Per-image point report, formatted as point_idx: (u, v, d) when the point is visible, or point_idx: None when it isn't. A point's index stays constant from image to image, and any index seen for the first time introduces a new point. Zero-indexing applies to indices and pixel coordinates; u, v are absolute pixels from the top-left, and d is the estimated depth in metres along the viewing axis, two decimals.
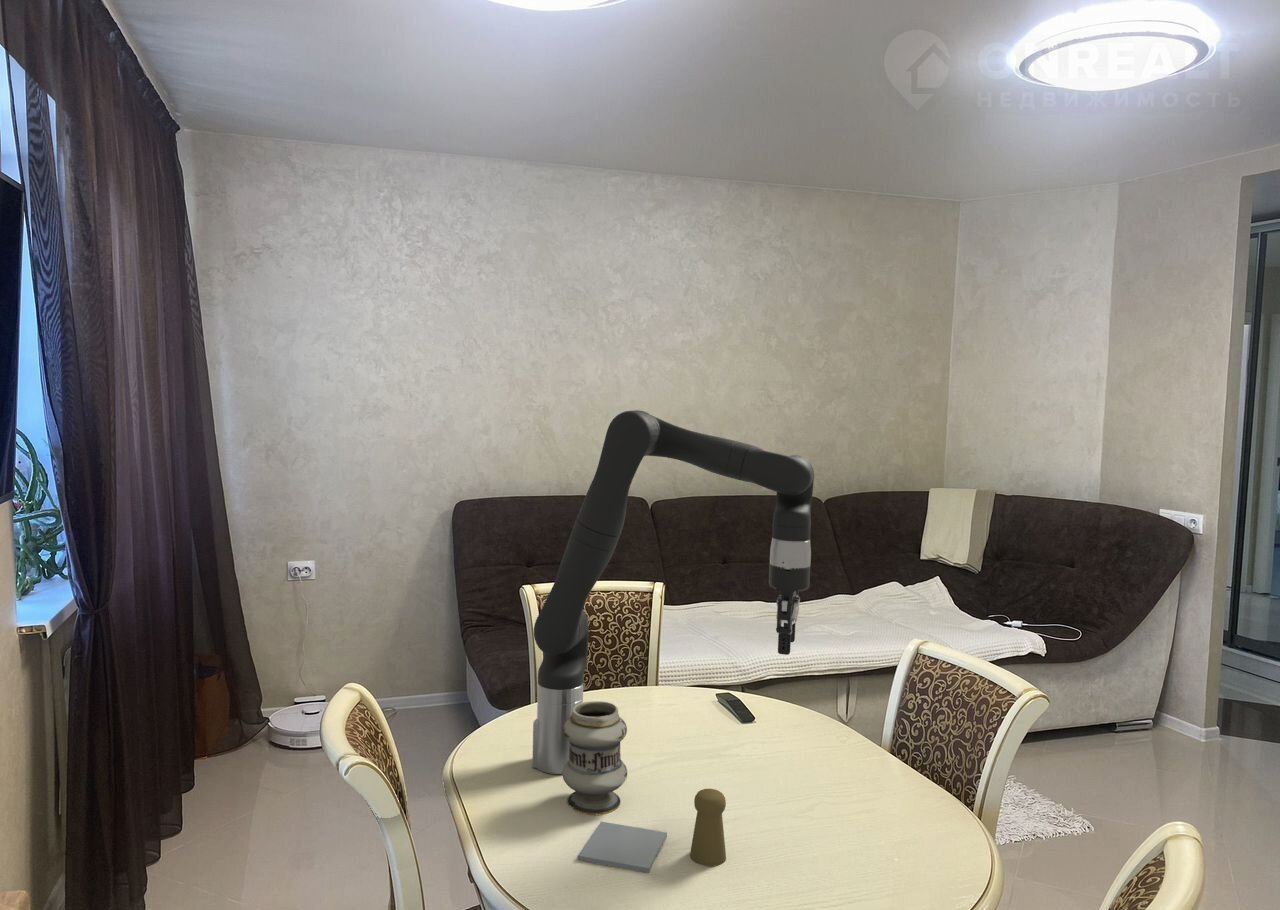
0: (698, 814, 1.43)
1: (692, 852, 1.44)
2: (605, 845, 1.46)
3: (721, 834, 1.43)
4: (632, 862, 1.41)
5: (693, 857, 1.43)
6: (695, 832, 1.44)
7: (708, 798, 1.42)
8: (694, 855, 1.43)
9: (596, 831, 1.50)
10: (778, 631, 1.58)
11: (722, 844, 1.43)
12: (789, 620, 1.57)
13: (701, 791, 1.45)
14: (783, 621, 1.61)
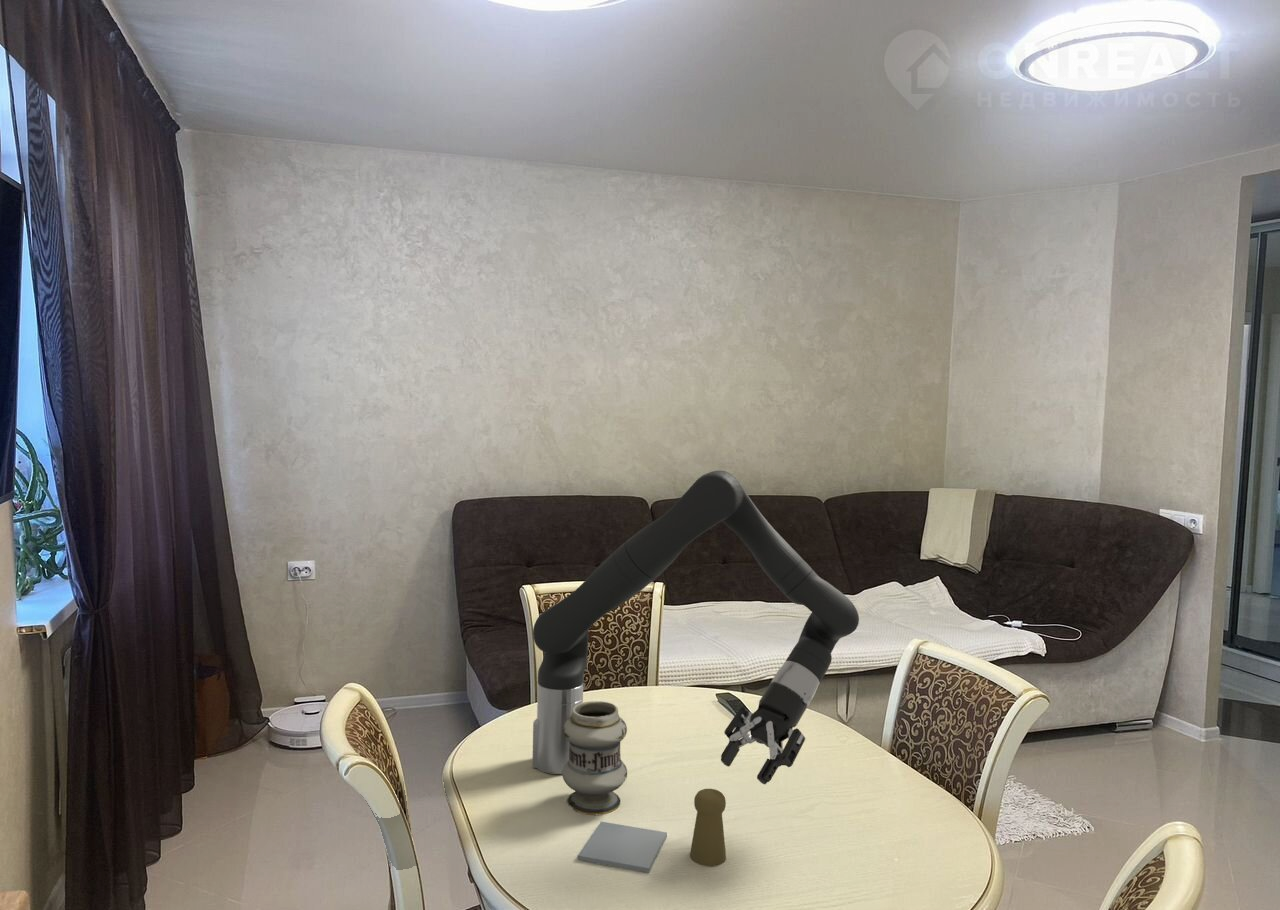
0: (698, 814, 1.43)
1: (692, 852, 1.44)
2: (605, 845, 1.46)
3: (721, 834, 1.43)
4: (632, 862, 1.41)
5: (693, 857, 1.43)
6: (695, 832, 1.44)
7: (708, 798, 1.42)
8: (694, 855, 1.43)
9: (596, 831, 1.50)
10: (785, 759, 1.45)
11: (722, 844, 1.43)
12: (797, 753, 1.47)
13: (701, 791, 1.45)
14: None
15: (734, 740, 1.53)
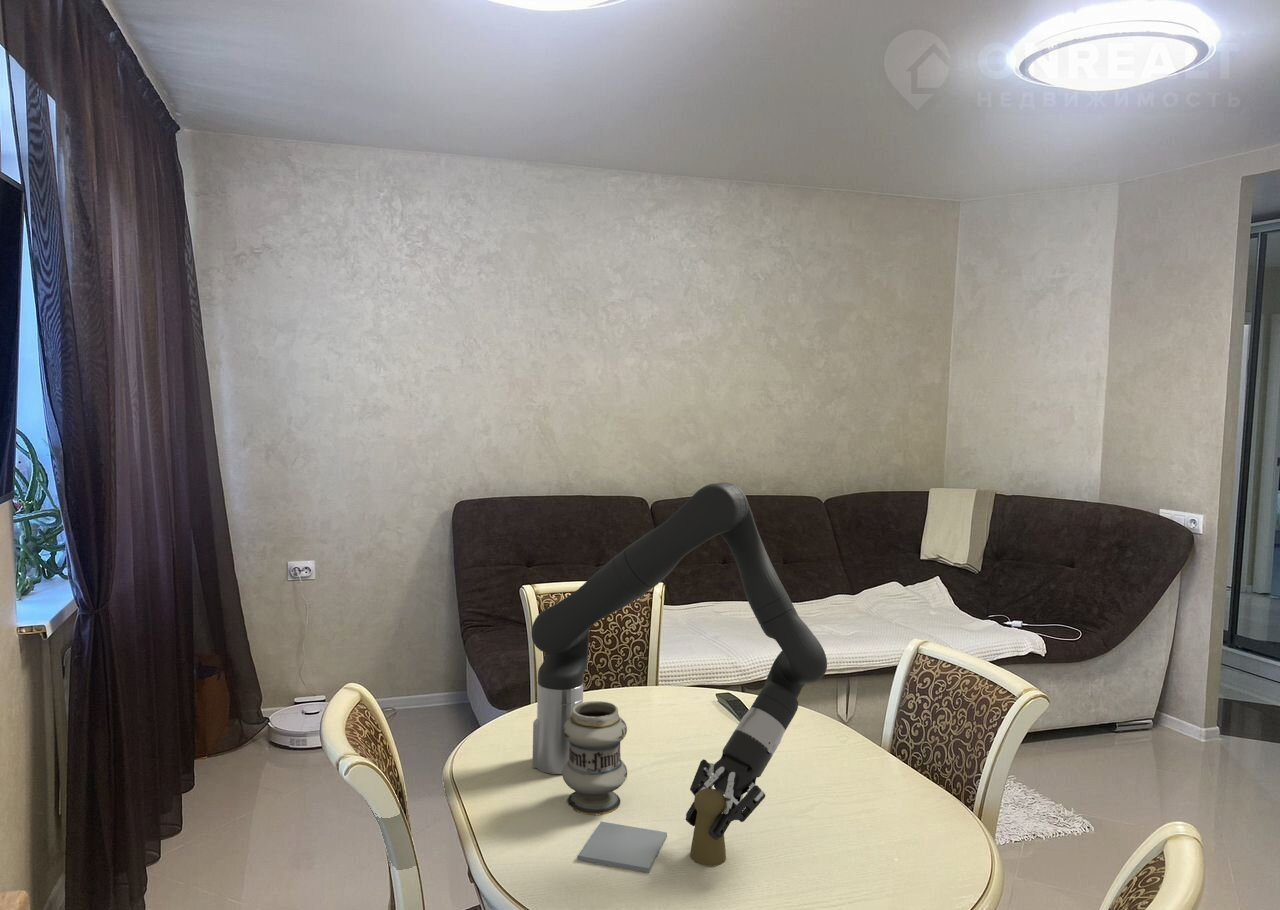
0: (698, 814, 1.43)
1: (692, 852, 1.44)
2: (605, 845, 1.46)
3: None
4: (632, 862, 1.41)
5: (693, 857, 1.43)
6: (695, 832, 1.44)
7: (708, 798, 1.42)
8: (694, 855, 1.43)
9: (596, 831, 1.50)
10: (738, 814, 1.40)
11: (722, 844, 1.43)
12: (752, 810, 1.42)
13: (701, 791, 1.45)
14: None
15: None
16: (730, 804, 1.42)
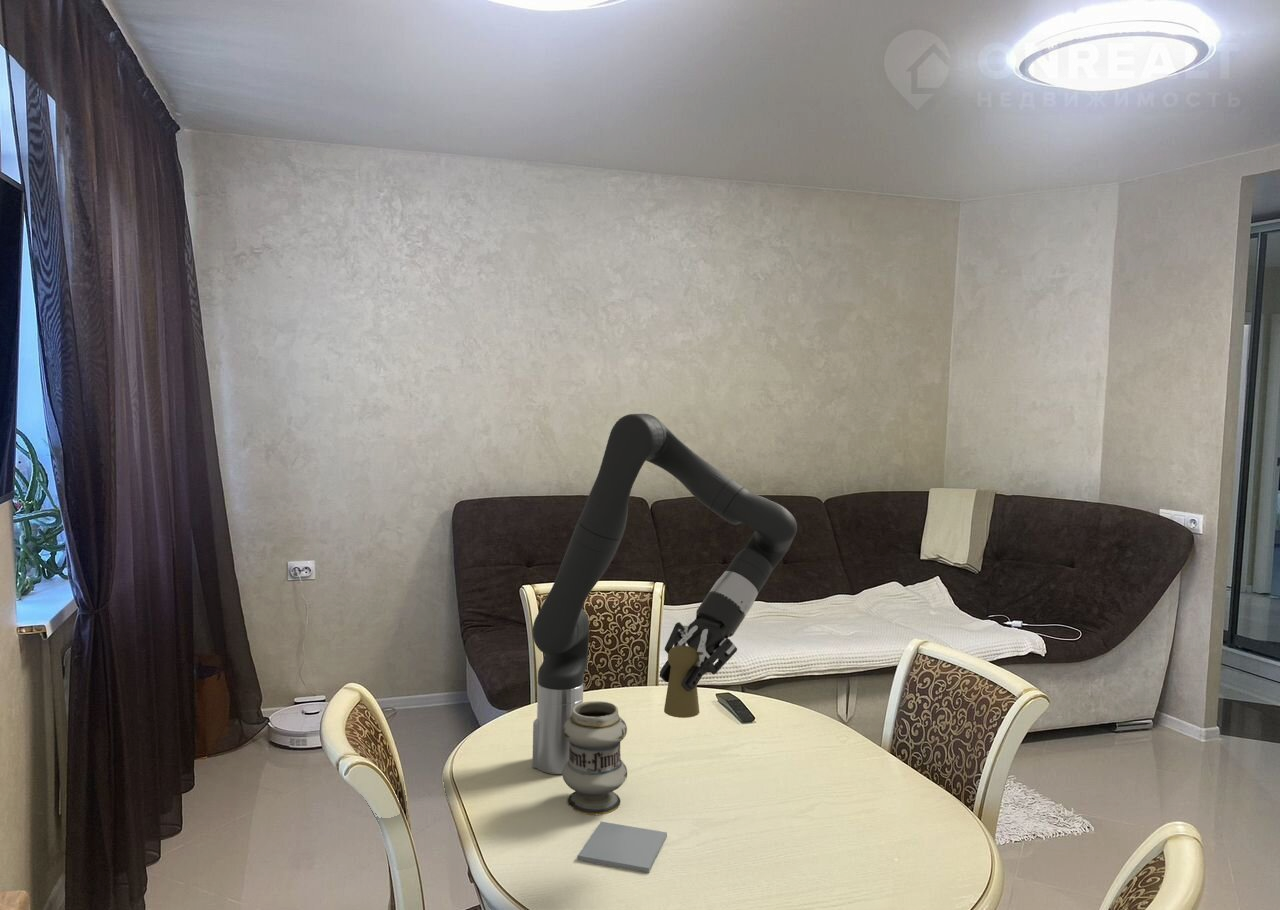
0: (671, 668, 1.46)
1: (666, 706, 1.47)
2: (605, 845, 1.46)
3: None
4: (632, 862, 1.41)
5: (667, 710, 1.46)
6: (669, 686, 1.47)
7: (680, 651, 1.45)
8: (668, 708, 1.46)
9: (596, 831, 1.50)
10: (709, 666, 1.43)
11: (695, 697, 1.46)
12: (724, 663, 1.45)
13: (674, 647, 1.48)
14: None
15: None
16: (702, 657, 1.45)
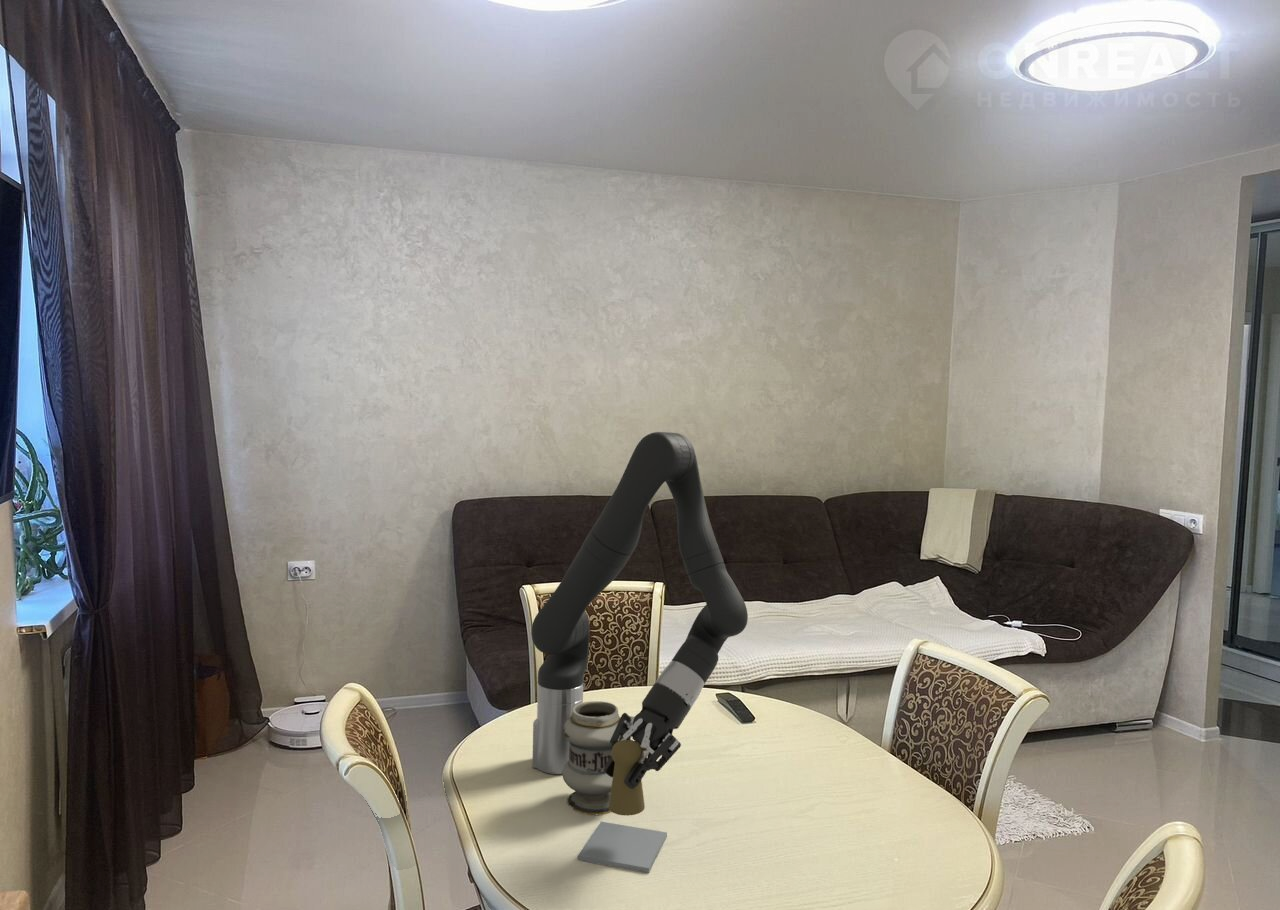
0: (615, 764, 1.45)
1: (610, 802, 1.45)
2: (605, 845, 1.46)
3: (638, 784, 1.44)
4: (632, 862, 1.41)
5: (611, 807, 1.44)
6: (613, 782, 1.45)
7: (623, 747, 1.44)
8: (612, 805, 1.44)
9: (596, 831, 1.50)
10: (652, 763, 1.42)
11: (639, 794, 1.44)
12: (667, 759, 1.43)
13: (618, 742, 1.46)
14: None
15: None
16: (646, 754, 1.44)
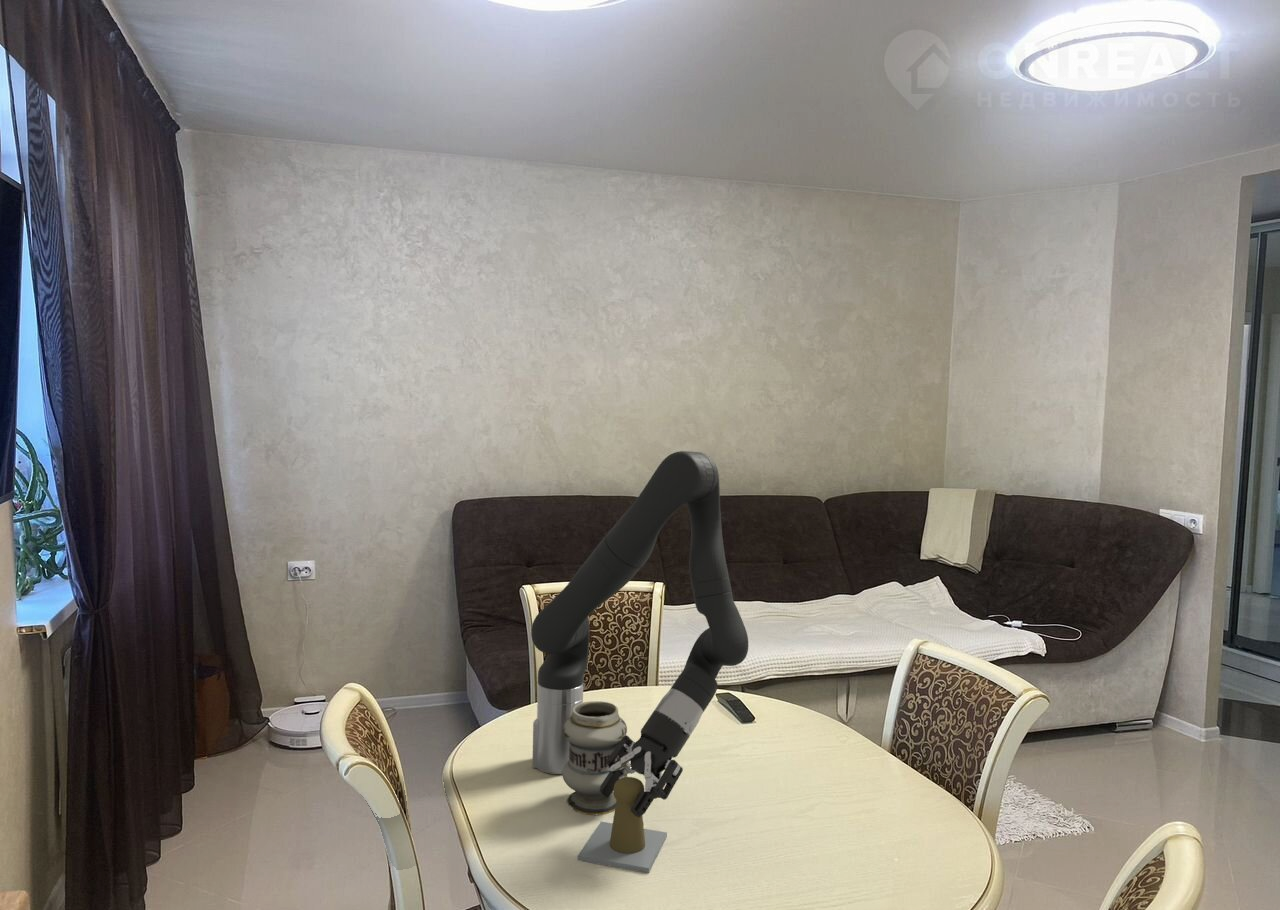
0: (617, 802, 1.45)
1: (611, 839, 1.45)
2: (605, 845, 1.46)
3: (639, 822, 1.45)
4: (632, 862, 1.41)
5: (612, 845, 1.45)
6: (614, 820, 1.45)
7: (625, 786, 1.44)
8: (613, 843, 1.45)
9: (596, 831, 1.50)
10: (659, 792, 1.41)
11: (640, 832, 1.45)
12: (673, 785, 1.43)
13: (620, 779, 1.46)
14: None
15: (614, 770, 1.50)
16: (651, 781, 1.43)
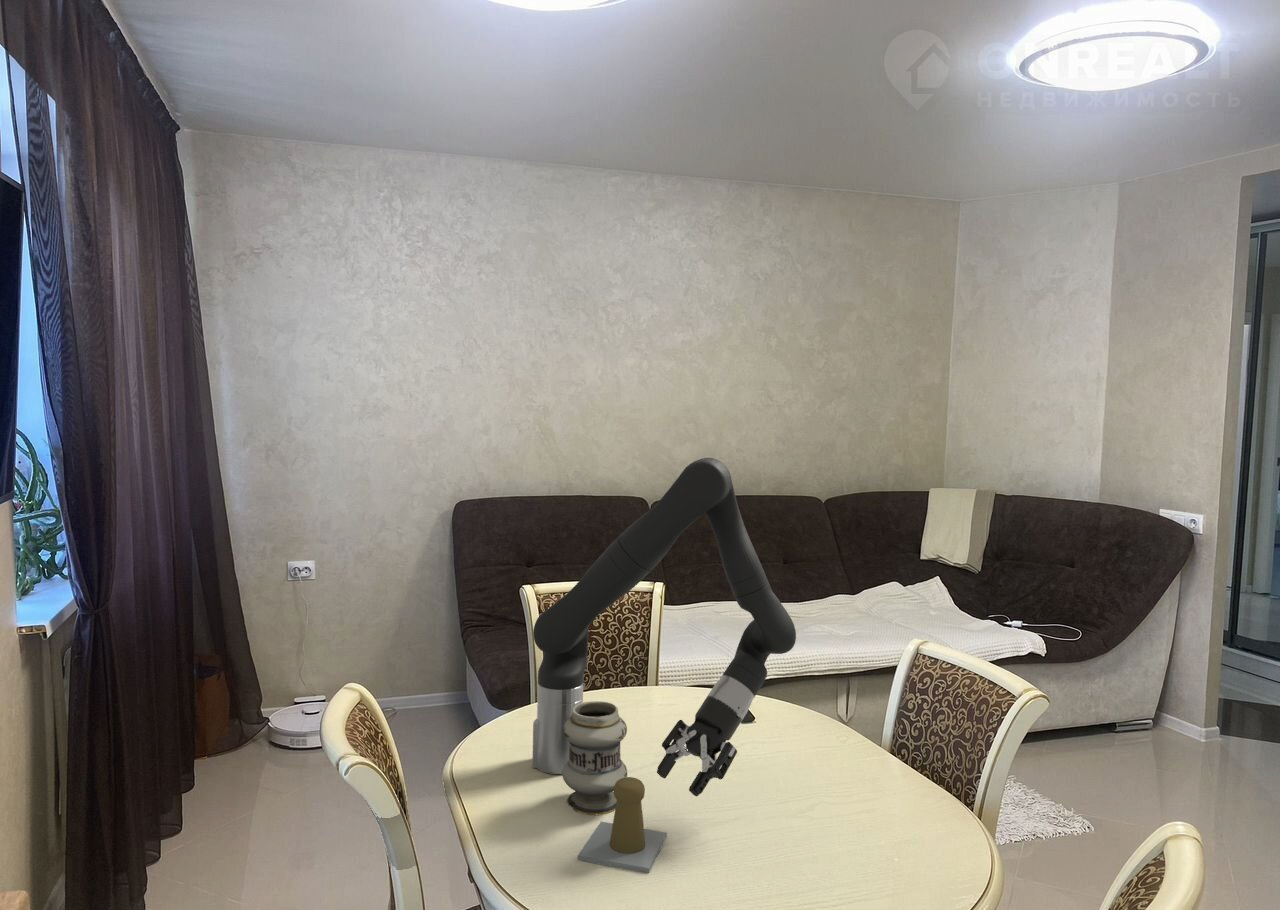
0: (617, 802, 1.45)
1: (611, 839, 1.45)
2: (605, 845, 1.46)
3: (639, 822, 1.45)
4: (632, 862, 1.41)
5: (612, 844, 1.45)
6: (614, 820, 1.45)
7: (626, 786, 1.44)
8: (613, 842, 1.45)
9: (596, 831, 1.50)
10: (716, 772, 1.49)
11: (640, 832, 1.45)
12: (728, 766, 1.51)
13: (621, 779, 1.46)
14: None
15: (670, 753, 1.57)
16: (708, 762, 1.51)
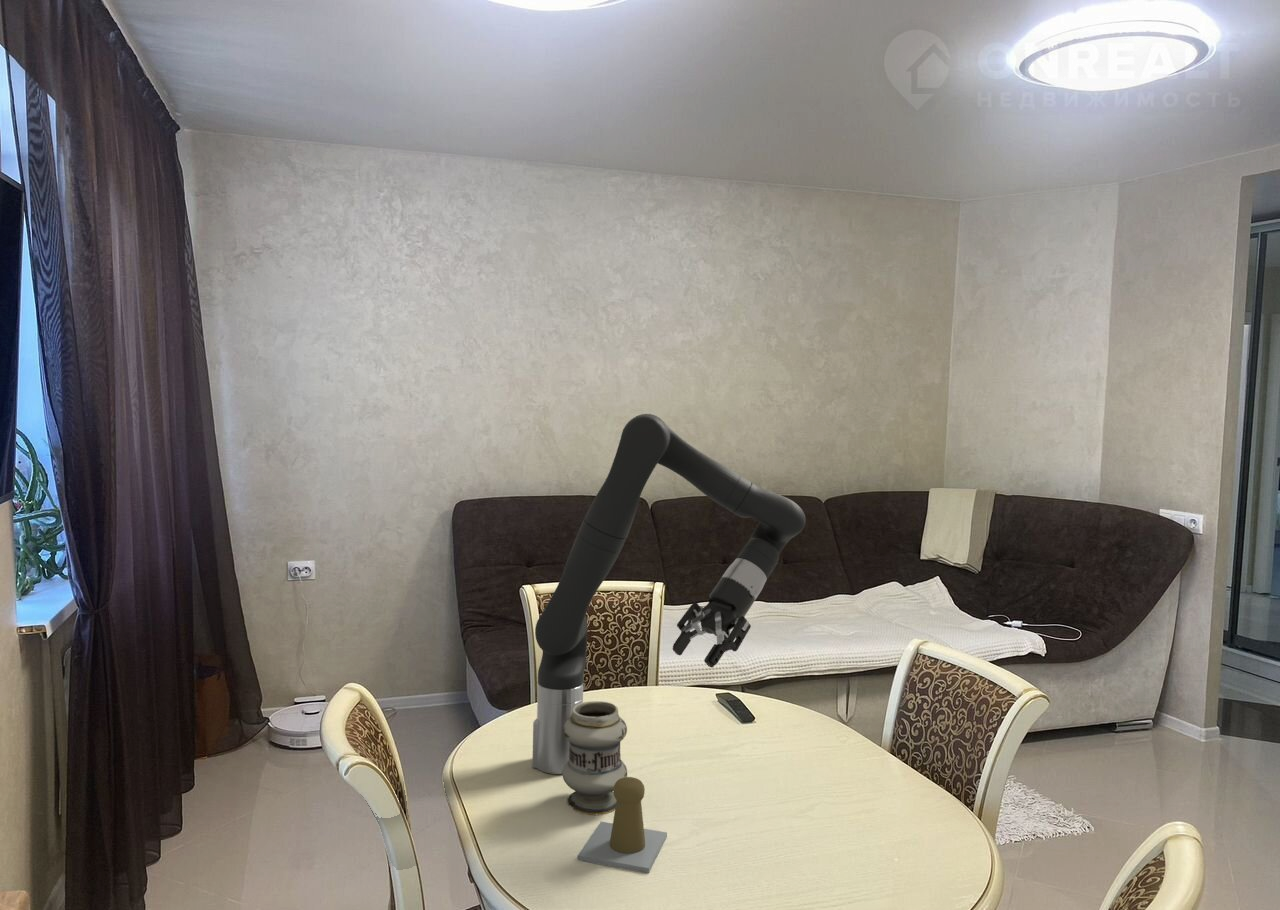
0: (617, 802, 1.45)
1: (611, 839, 1.45)
2: (605, 845, 1.46)
3: (639, 822, 1.45)
4: (632, 862, 1.41)
5: (612, 845, 1.45)
6: (614, 820, 1.45)
7: (626, 786, 1.44)
8: (613, 843, 1.45)
9: (596, 831, 1.50)
10: (731, 643, 1.54)
11: (640, 832, 1.45)
12: (742, 639, 1.56)
13: (620, 779, 1.46)
14: None
15: (685, 631, 1.62)
16: (722, 635, 1.56)
